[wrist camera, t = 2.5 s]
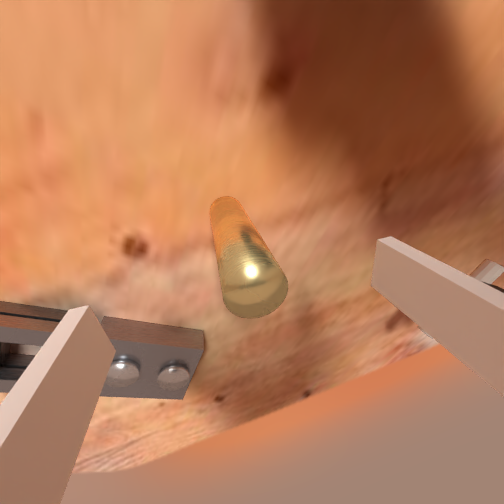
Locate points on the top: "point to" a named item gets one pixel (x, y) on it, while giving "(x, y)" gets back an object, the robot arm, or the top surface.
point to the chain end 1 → (3, 357)
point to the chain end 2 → (123, 355)
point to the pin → (245, 262)
